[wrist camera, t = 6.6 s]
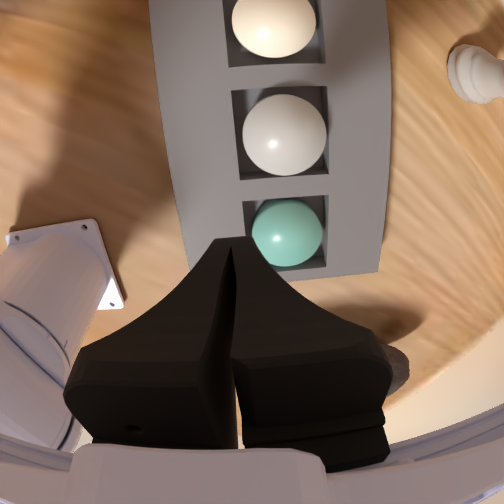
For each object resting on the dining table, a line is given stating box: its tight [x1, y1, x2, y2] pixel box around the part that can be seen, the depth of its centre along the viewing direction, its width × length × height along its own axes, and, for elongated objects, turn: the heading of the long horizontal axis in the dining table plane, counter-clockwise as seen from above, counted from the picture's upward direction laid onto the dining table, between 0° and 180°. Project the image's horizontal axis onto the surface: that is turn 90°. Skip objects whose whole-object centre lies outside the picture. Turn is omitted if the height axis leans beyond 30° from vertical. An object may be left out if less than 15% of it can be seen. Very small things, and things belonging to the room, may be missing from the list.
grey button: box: [243, 94, 326, 176], centre depth 16 cm, size 4×4×1 cm
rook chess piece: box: [447, 44, 504, 104], centre depth 13 cm, size 4×4×8 cm
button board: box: [148, 0, 391, 282], centre depth 18 cm, size 13×20×2 cm, turn 5°
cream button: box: [232, 0, 316, 58], centre depth 14 cm, size 4×4×1 cm
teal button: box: [252, 197, 322, 266], centre depth 21 cm, size 4×4×1 cm
